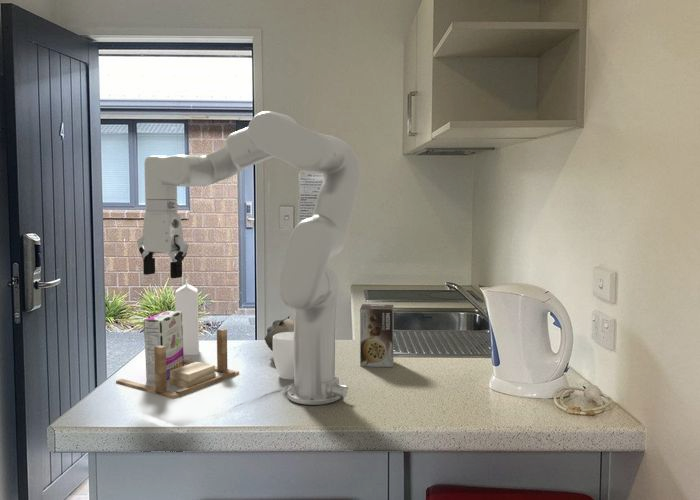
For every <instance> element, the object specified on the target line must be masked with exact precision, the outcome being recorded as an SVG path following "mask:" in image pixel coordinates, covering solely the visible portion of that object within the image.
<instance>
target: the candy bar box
mask: <svg viewBox="0 0 700 500" xmlns="http://www.w3.org/2000/svg"><path fill="white" fill-rule="evenodd" d="M143 330H144V333H143V334H144V348H145V349H144V352H145V376H146V382H155V356H154V347H155V346H159V345H161V346H166V375H167V381H168V380H170V370H173V369H176V368H179V367H182V366H185V364H184V360H185V358H184V357H185V356H183V330H182V312H181V311H175V310H164V311H162V312H160V313H157V314H155V315H152V316H150V317H148V318H146V319H144V320H143Z"/></svg>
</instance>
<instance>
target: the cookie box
mask: <svg viewBox="0 0 700 500" xmlns="http://www.w3.org/2000/svg"><path fill="white" fill-rule="evenodd" d="M359 331H360V332H359V334H360V336H359V338H360V339H359V342H360V343H359V344H360V346H359V347H360V349H359V358H360V361H359V362H360V363H359V367H373V368H374V367H379V368H380V367H382V368H385V367H386V368H393V367H394V304H377V303H375V304H373V303H372V304H368V303H367V304H366V303H364V304H363V303H362V304H361V306H360V308H359Z"/></svg>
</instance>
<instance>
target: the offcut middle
mask: <svg viewBox="0 0 700 500" xmlns="http://www.w3.org/2000/svg"><path fill="white" fill-rule="evenodd" d="M216 375H217V374H216V372H215V373H212V374H209V375H207V376H204V377H201V378H198V379H196V380H193V381H190V382H186V381H182V380H178V379H173V378H170V379H169V384H170V385H172V386H176V387H179V388H181V389H183V388H186V387H189V386H191V385H194V384H197V383H200V382H202V381H205V380H208V379H211V378H213V377H216Z"/></svg>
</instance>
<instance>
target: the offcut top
mask: <svg viewBox="0 0 700 500" xmlns="http://www.w3.org/2000/svg"><path fill="white" fill-rule="evenodd" d="M193 362H194V363H191V364H188V365H186V364H184V366H182V367H179V368H176V369H173V370H170V378H173V379H178V380H182V381H186V382H190V381H193V380H196V379H198V378H201V377H204V376H207V375H209V374H212V373H216V371H215V366H216V365H215V364H210V363H206V362H205V363H204V362H201V361H200V362H199V361H193Z"/></svg>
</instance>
